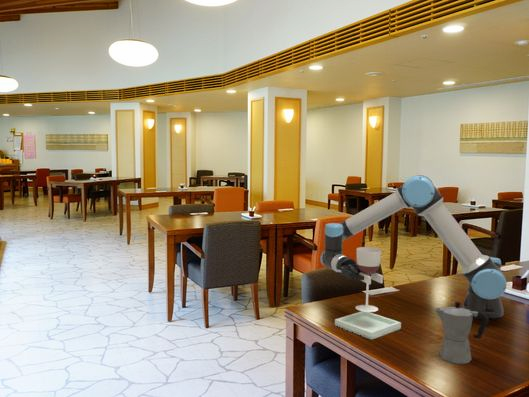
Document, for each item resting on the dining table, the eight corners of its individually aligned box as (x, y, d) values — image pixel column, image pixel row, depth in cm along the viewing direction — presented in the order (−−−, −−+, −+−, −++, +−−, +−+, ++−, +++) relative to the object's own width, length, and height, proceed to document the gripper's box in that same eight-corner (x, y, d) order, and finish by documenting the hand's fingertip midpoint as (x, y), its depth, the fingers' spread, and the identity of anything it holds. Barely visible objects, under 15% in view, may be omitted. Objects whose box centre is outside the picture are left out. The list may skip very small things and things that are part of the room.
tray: (400, 328, 169) (401, 322, 169) (371, 339, 158) (371, 332, 158) (364, 316, 182) (364, 310, 182) (334, 325, 171) (334, 319, 171)
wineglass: (374, 304, 175) (376, 247, 173) (382, 312, 165) (384, 252, 163) (352, 304, 174) (353, 247, 172) (358, 312, 165) (359, 252, 163)
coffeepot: (431, 360, 142) (433, 303, 141) (434, 348, 151) (436, 295, 150) (486, 369, 136) (489, 310, 135) (486, 357, 145) (488, 301, 143)
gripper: (362, 273, 189) (396, 288, 167) (324, 276, 183) (354, 292, 161) (363, 255, 188) (396, 268, 166) (325, 257, 183) (354, 271, 161)
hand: (375, 280), depth 164 cm, fingers closed on wineglass, 4 cm apart
